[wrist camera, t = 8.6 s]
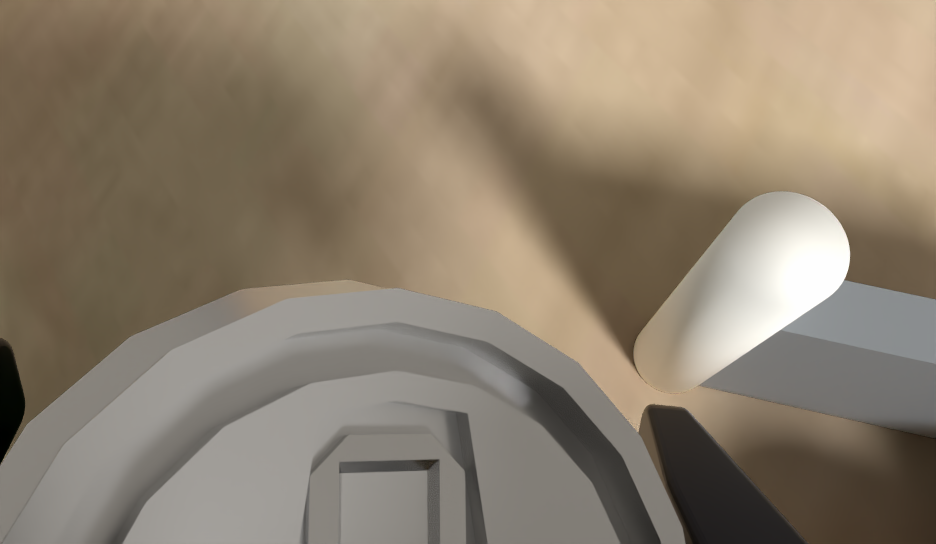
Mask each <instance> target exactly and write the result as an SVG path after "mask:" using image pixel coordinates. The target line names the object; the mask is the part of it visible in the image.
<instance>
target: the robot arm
mask: <svg viewBox="0 0 936 544" xmlns="http://www.w3.org/2000/svg"><path fill="white" fill-rule="evenodd" d="M24 411H25V398H24V393H23V389H22V385H21V381H20V377H19V373H18V369H17V365H16V361H15V357H14V353H13V350H12V347H11V346H10V344H9V343H8V342H7V341H6V340H4V339H2V338H0V464H1V462H2V460H3V458H4V456H5V454H6V452H7V450H8V448H9V446H10V444H11V442H12V440H13V438H14V436H15V434H16V432H17V430H18V428H19V426H20V424H21V422H22V419H23V415H24ZM638 434H639V435H640V436H641V437H642V440H643V442H644V444H645V446H646V448H647V451H648V453H649V455H650V457H651V459H652V462H653V464H654V466H655V468H656V470H657V473H658V475H659V477H660V479H661V481H662V484H663V486H664V488H665V490H666V492H667V495H668V497H669V499H670V501H671V503H672V506H673V508H674V510H675V512H676V514H677V517H678V519H679V521H680V523H681V525H682V527H683V532H684V538H685V544H808V543H807V542H806V540H805V539H804V538H803V537H802V536H801V535H800V534H799V533H798V532H797V530H796V529H795V528H794V527H793V526H792V525H791V524H790V523H789V522H788V520H787V519H786V518H785V517H784V516H783V515H782V514H781V513H780V512H779V510H778V509H777V508H776V507H775V506H774V505H773V504H772V503H771V502H770V501H769V499H768V498H767V497H766V496H765V495H764V494H763V493H762V492H761V491H760V489H759V488H758V487H757V486H756V485H755V484H754V483H753V482H752V481H751V479H750V478H749V477H748V476H747V475H746V474H745V473H744V472H743V471H742V470H741V468H740V467H739V466H738V465H737V464H736V463H735V462H734V461H733V460H732V458H731V457H730V456H729V455H728V454H727V453H726V452H725V451H724V450H723V448H722V447H721V446H720V445H719V444H718V443H717V442H716V441H715V440H714V439H713V437H712V436H711V435H710V434H709V433H708V432H707V431H706V430H705V429H704V427H703V426H702V425H701V424H700V423H699V422H698V421H697V420H696V419H695V417H694V416H693V415H692V414H691V413H690V412H689V411H688V410H686V409H685V408H682V407H675V406H665V405H655V404H650V405H648V406H647V407H646V408H645V409H644V411H643V414H642V419H641V423H640V428H639V433H638Z"/></svg>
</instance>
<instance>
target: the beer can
mask: <svg viewBox="0 0 936 544" xmlns="http://www.w3.org/2000/svg"><path fill="white" fill-rule="evenodd" d="M0 544H685V538H684V532H683V527H682V525H681V523H680V521H679V519H678V517H677V514H676V512H675V510H674V508H673V506H672V503H671V501H670V499H669V497H668V495H667V492H666V490H665V488H664V486H663V484H662V481H661V479H660V477H659V475H658V473H657V470H656V468H655V466H654V464H653V462H652V459H651V457H650V455H649V453H648V451H647V448H646V446H645V444H644V442H643V440H642V437H641V436H640V435H639V434H638V432H637V431H636V430H635V429H634V428H633V427H632V425H631V424H630V423H629V422H628V421H627V419H626V418H625V417H624V416H623V415H622V414H621V412H620V411H619V410H618V409H617V408H616V407H615V405H614V404H613V403H612V402H611V401H610V399H609V398H608V397H607V396H606V395H605V394H604V392H603V391H602V390H601V389H600V388H599V387H598V385H597V384H596V383H595V382H594V381H593V379H592V378H591V377H590V376H589V375H588V374H587V372H586V371H585V370H584V369H583V368H582V367H581V365H580V364H579V363H578V362H576V361H575V360H573V359H571V358H570V357H568V356H567V355H565V354H563V353H562V352H560V351H559V350H557V349H555V348H554V347H552V346H551V345H549V344H548V343H546V342H544V341H543V340H541V339H540V338H538V337H536V336H535V335H533V334H532V333H530V332H528V331H527V330H525V329H524V328H522V327H520V326H519V325H517V324H516V323H514V322H512V321H511V320H509V319H508V318H506V317H505V316H503V315H501V314H500V313H498V312H497V311H493V310H488V309H484V308H480V307H476V306H472V305H467V304H463V303H459V302H455V301H451V300H446V299H442V298H438V297H434V296H430V295H425V294H421V293H417V292H413V291H409V290H404V289H400V288H392V289H388V288H383V287H379V286H375V285H371V284H367V283H362V282H358V281H354V280H350V279H348V280H336V281H325V282H314V283H303V284H292V285H281V286H270V287H259V288H248V289H241V290H238V291H236V292H234V293H231V294H229V295H227V296H224V297H222V298H219V299H217V300H215V301H212V302H210V303H208V304H205V305H203V306H201V307H198V308H196V309H194V310H191V311H189V312H187V313H184V314H182V315H180V316H177V317H175V318H172V319H170V320H168V321H165V322H163V323H161V324H158V325H156V326H154V327H151V328H149V329H147V330H144V331H142V332H140V333H137V334H135V335H133V336H130V337H129V338H128V339H127V340H126V341H124V342H123V343H122V344H121V345H120V346H119V347H117V348H116V349H115V350H114V351H113V352H111V353H110V354H109V355H108V356H107V357H106V358H104V359H103V360H102V361H101V362H100V363H98V364H97V365H96V366H95V367H94V368H93V369H91V370H90V371H89V372H88V373H87V374H86V375H84V376H83V377H82V378H81V379H80V380H78V381H77V382H76V383H75V384H74V385H73V386H71V387H70V388H69V389H68V390H67V391H65V392H64V393H63V394H62V395H61V396H60V397H58V398H57V399H56V400H55V401H54V402H52V403H51V404H50V405H49V406H48V407H47V408H45V409H44V410H43V411H42V412H41V413H40V414H38V415H37V416H36V417H35V418H34V419H32V420H31V421H30V422H29V423H28V424H27V425H26V427H25V428H24V430H23V431H22V433H21V434H20V436H19V437H18V439H17V441H16V442H15V444H14V445H13V447H12V448H11V450H10V451H9V453H8V455H7V456H6V458H5V459H4V461H3V462H2V464H1V465H0Z"/></svg>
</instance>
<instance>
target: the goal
mask: <svg viewBox="0 0 936 544" xmlns="http://www.w3.org/2000/svg"><path fill="white" fill-rule="evenodd" d="M849 263H850V248H849V243H848V239H847V236H846V233H845V231H844V229H843V227H842V225H841V224H840V222H839V221H838V219H837V218H836V217H835V216H834V215H833V213H832V212H831V211H830V210H828V209H827V208H826V207H825V206H824V205H822V204H821V203H819V202H818V201H816V200H814V199H812V198H810V197H808V196H805V195H802V194H799V193H794V192H788V191H777V192H770V193H765V194H762V195H759V196H757V197H755V198H753V199H751V200H750V201H748V202H747V203H746V204H744V205H743V206H742V207H741V208H740V209H739V210H738V212H737V213H736V214H735V215H734V216H733V218H732V219H731V220H730V221H729V223H728V224H727V225H726V226H725V228H724V229H723V230H722V231H721V233H720V234H719V235H718V236H717V238H716V239H715V240H714V241H713V243H712V244H711V245H710V246H709V248H708V249H707V250H706V251H705V252H704V254H703V255H702V256H701V257H700V259H699V260H698V261H697V262H696V264H695V265H694V266H693V267H692V269H691V270H690V271H689V272H688V274H687V275H686V276H685V277H684V279H683V280H682V281H681V282H680V284H679V285H678V286H677V287H676V288H675V290H674V291H673V292H672V293H671V295H670V296H669V297H668V298H667V300H666V301H665V302H664V303H663V305H662V306H661V307H660V308H659V310H658V311H657V312H656V313H655V315H654V316H653V317H652V318H651V320H650V321H649V322H648V323H647V325H646V326H645V327H644V328H643V329H642V331H641V332H640V333H639V335H638V337H637V339H636V341H635V345H634V350H633V357H634V363H635V366H636V368H637V371H638V372H639V374H640V376H641V377H642V378H643V380H644V381H645V382H646V383H647V384H649V385H650V386H651V387H653V388H655V389H657V390H659V391H661V392H665V393H670V394H678V393H684V392H687V391H690V390H692V389H694V388H695V387H697V386H698V385H699V386H703V387H708V388H712V389H717V390H721V391H725V392H730V393H734V394H739V395H743V396H748V397H752V398H757V399H761V400H766V401H770V402H775V403H779V404H783V405H788V406H792V407H797V408H801V409H806V410H810V411H815V412H819V413H824V414H828V415H833V416H837V417H841V418H846V419H850V420H855V421H859V422H864V423H868V424H873V425H877V426H882V427H886V428H891V429H895V430H900V431H904V432H908V433H913V434H917V435H922V436H926V437H931V438H935V439H936V299H931V298H926V297H921V296H917V295H912V294H907V293H903V292H898V291H893V290H888V289H884V288H879V287H874V286H870V285H865V284H860V283H855V282H851V281H846V280H844V279H845V277H846V274H847V271H848V268H849Z"/></svg>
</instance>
